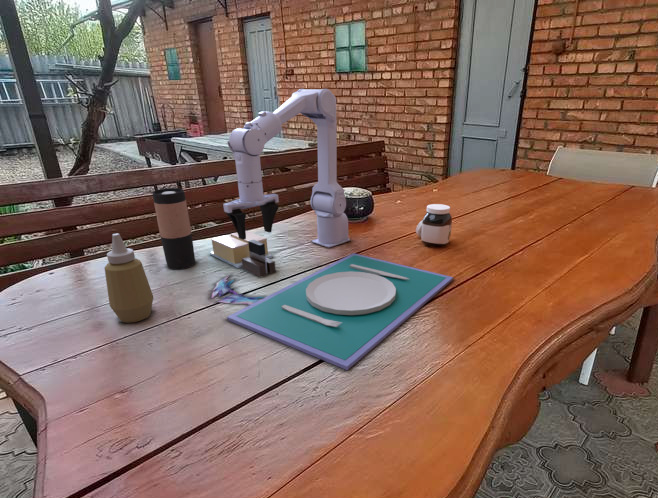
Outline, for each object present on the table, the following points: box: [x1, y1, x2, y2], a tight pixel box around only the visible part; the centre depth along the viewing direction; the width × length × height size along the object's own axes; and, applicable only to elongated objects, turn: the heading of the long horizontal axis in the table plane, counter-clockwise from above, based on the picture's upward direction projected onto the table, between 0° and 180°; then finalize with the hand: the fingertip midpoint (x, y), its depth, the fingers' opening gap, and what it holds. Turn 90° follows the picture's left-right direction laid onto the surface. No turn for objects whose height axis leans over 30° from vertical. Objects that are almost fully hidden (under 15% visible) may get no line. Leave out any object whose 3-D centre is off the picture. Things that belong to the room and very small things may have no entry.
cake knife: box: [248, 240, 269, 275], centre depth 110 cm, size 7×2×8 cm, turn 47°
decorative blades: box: [211, 275, 264, 306], centre depth 99 cm, size 20×1×10 cm
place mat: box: [226, 252, 454, 371], centre depth 96 cm, size 45×30×2 cm
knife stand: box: [242, 257, 277, 278], centre depth 111 cm, size 5×8×3 cm, turn 47°
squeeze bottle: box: [104, 232, 154, 324], centre depth 85 cm, size 8×8×18 cm
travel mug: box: [151, 187, 196, 270], centre depth 111 cm, size 8×8×20 cm
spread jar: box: [415, 203, 453, 248], centre depth 130 cm, size 12×11×12 cm
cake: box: [209, 230, 274, 269], centre depth 120 cm, size 11×15×5 cm
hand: (255, 234), depth 107 cm, fingers open, 7 cm apart
